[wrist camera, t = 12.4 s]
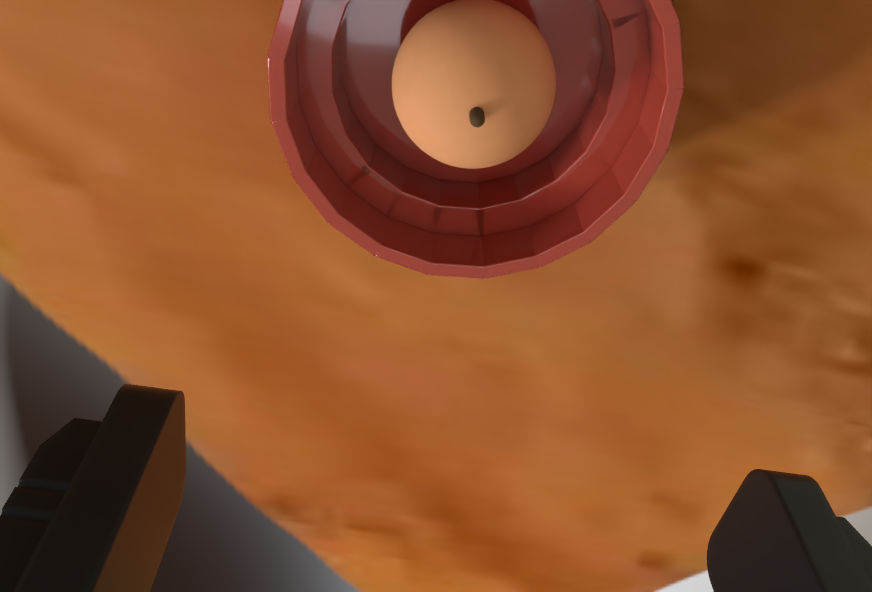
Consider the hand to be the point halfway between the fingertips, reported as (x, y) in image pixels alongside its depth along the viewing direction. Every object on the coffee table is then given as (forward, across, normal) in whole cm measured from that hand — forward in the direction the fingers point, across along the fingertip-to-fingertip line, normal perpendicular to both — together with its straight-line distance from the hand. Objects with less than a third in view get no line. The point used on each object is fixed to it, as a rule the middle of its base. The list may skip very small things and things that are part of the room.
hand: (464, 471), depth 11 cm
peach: (+23, -1, +1) cm, 23 cm away
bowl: (+23, -1, +1) cm, 23 cm away
